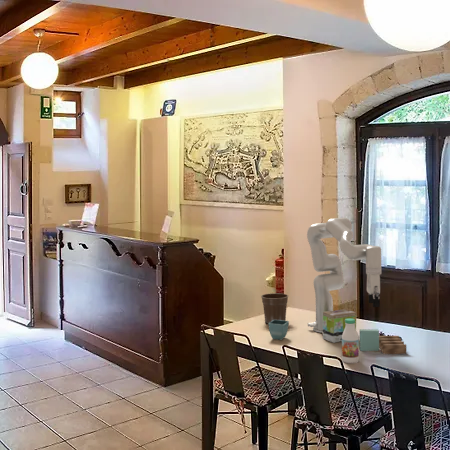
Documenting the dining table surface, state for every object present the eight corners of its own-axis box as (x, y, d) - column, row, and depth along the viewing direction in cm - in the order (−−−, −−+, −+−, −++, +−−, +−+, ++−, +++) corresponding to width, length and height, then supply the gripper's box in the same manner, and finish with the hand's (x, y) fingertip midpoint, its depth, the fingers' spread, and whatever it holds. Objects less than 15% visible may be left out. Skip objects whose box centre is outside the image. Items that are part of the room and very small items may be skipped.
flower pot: (289, 337, 330) (289, 320, 330) (283, 341, 322) (283, 324, 322) (274, 335, 334) (273, 319, 333) (268, 339, 326) (268, 323, 325)
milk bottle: (340, 359, 290) (339, 317, 289) (355, 358, 291) (355, 317, 289) (344, 364, 283) (344, 321, 281) (360, 363, 283) (360, 320, 281)
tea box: (334, 343, 317) (333, 315, 315) (322, 338, 326) (322, 311, 324) (356, 339, 324) (356, 311, 322) (344, 334, 332) (344, 308, 331)
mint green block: (360, 350, 303) (360, 331, 302) (359, 349, 306) (359, 329, 305) (379, 350, 302) (379, 330, 301) (377, 348, 305) (377, 329, 304)
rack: (383, 353, 297) (383, 345, 296) (376, 344, 313) (376, 336, 312) (406, 353, 296) (406, 344, 296) (398, 344, 312) (398, 335, 312)
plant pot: (262, 318, 372) (262, 292, 371) (289, 319, 370) (288, 292, 369) (260, 325, 356) (260, 298, 355) (288, 326, 354) (287, 298, 353)
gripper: (362, 268, 313) (363, 301, 314) (369, 273, 296) (370, 308, 297) (377, 268, 313) (377, 301, 314) (385, 273, 296) (385, 308, 297)
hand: (374, 304), depth 306 cm, fingers open, 9 cm apart
